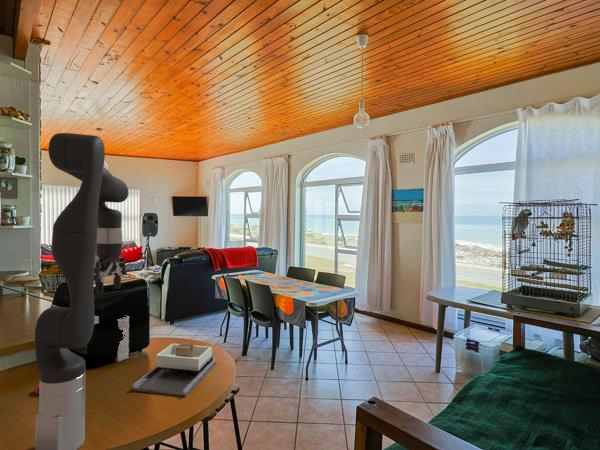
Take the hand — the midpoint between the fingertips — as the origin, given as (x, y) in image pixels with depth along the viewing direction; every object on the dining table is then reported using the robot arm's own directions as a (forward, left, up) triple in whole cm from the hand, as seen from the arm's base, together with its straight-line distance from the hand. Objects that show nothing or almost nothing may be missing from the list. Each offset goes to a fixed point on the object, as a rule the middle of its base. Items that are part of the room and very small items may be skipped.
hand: (108, 290), depth 120 cm
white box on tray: (+13, -21, -29) cm, 38 cm away
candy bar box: (+18, +10, -30) cm, 37 cm away
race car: (-6, +12, -31) cm, 34 cm away
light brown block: (+13, -21, -26) cm, 36 cm away
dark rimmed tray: (+8, -21, -30) cm, 37 cm away
